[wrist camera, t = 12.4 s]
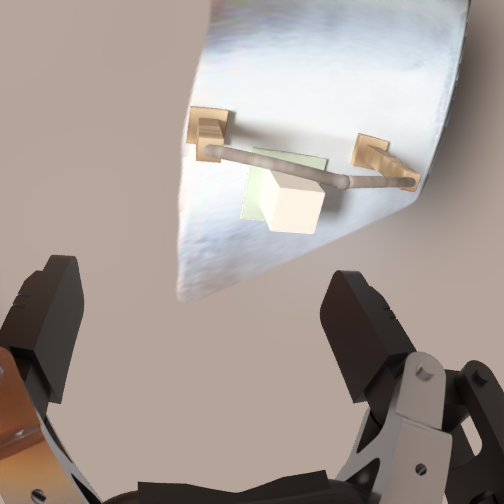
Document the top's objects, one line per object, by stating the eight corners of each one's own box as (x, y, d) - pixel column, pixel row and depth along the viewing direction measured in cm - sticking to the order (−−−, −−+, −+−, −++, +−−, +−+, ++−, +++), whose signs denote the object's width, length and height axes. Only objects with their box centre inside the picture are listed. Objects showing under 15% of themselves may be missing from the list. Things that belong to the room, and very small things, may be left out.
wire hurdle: (190, 106, 32) (185, 138, 20) (384, 140, 37) (457, 186, 25) (186, 140, 34) (180, 193, 22) (376, 168, 39) (442, 223, 27)
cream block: (267, 167, 37) (279, 187, 32) (308, 172, 38) (325, 192, 33) (260, 205, 39) (270, 230, 35) (298, 209, 41) (313, 234, 36)
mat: (252, 147, 36) (253, 148, 35) (325, 158, 38) (326, 159, 37) (240, 217, 40) (240, 218, 40) (307, 222, 42) (309, 224, 42)
